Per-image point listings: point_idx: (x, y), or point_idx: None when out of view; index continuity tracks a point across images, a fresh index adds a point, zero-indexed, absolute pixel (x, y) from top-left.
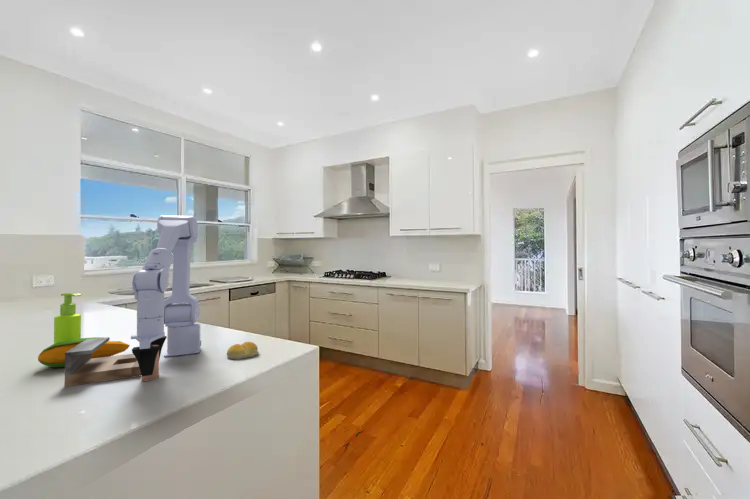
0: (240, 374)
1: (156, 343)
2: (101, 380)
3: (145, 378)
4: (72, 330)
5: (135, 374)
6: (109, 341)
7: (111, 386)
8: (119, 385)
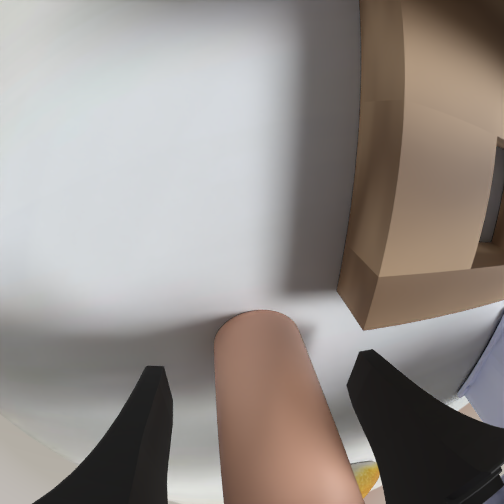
0: (169, 490)
1: (405, 498)
2: (362, 72)
3: (218, 343)
4: None
5: (348, 270)
6: None
7: (202, 157)
8: (198, 206)
